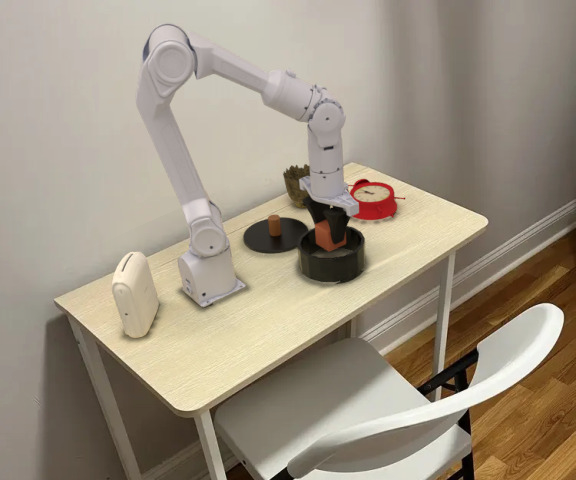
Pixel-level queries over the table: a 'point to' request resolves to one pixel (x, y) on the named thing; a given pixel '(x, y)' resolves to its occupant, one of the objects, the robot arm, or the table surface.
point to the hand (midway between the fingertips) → (330, 237)
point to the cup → (296, 184)
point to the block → (326, 236)
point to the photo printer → (135, 294)
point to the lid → (274, 234)
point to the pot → (332, 267)
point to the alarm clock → (373, 200)
